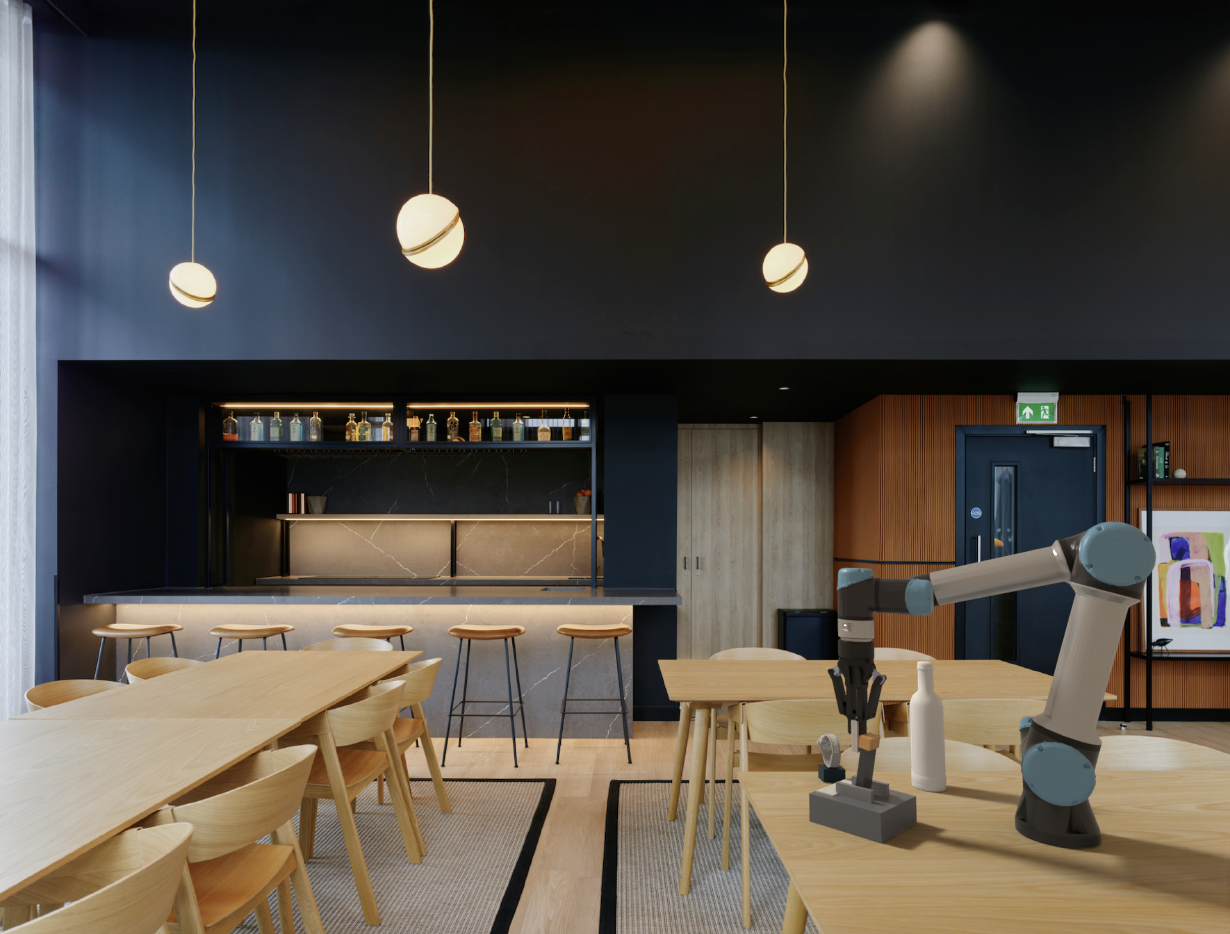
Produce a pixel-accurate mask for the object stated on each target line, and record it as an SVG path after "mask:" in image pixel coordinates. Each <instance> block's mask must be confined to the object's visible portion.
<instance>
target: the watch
mask: <svg viewBox="0 0 1230 934" xmlns="http://www.w3.org/2000/svg"><path fill="white" fill-rule="evenodd" d="M840 744H841V743H840V740H839V737H838V736H837V734H836V733H835V734H833V733H825V734H822V735H821V736H820V737H819V738H818V740H817V741H816V745H818V746H819V750H820V753H821V754H822V759H823V762H824V764H817V775H818V777H817V778H819V780H821V781H822V782H823V783H826V784H827V783H832V784H834V783H836V782H838V781H842V780H844V779H847V777H846V772H847V771H846V768H844V767H843V766H842V765H840V764H841V760H842V758H841V757H842V754H841V745H840Z"/></svg>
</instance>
